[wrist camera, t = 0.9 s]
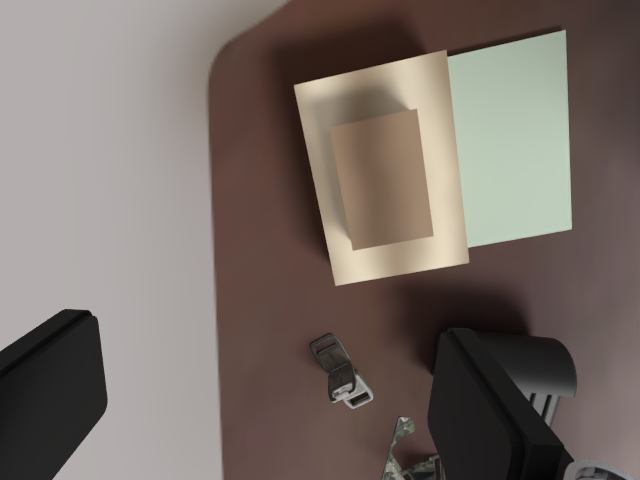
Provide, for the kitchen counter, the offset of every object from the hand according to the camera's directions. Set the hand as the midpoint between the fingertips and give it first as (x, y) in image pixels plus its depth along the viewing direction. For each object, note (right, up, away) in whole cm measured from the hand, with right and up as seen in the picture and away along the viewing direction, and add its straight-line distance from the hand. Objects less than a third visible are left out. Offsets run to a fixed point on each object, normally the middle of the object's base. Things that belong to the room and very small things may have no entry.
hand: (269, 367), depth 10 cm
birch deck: (+7, +9, +22) cm, 25 cm away
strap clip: (+4, -10, +28) cm, 30 cm away
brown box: (+6, +8, +18) cm, 21 cm away
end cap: (+17, -7, +27) cm, 33 cm away
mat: (+17, +11, +21) cm, 29 cm away
